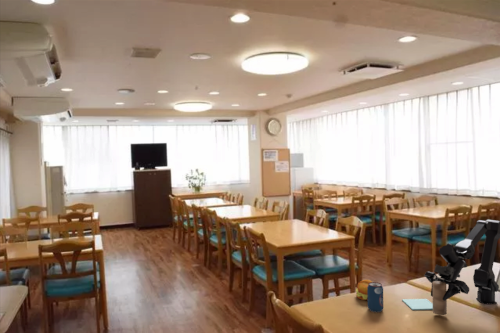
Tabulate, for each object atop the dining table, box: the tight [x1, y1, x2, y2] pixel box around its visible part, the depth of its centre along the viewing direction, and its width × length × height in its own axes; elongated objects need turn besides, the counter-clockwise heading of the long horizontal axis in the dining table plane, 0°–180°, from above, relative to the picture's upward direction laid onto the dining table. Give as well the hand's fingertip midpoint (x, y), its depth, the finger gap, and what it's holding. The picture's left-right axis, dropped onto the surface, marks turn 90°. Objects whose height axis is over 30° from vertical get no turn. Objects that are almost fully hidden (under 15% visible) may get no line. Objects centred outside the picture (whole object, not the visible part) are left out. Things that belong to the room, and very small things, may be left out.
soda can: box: [367, 281, 384, 313], centre depth 181 cm, size 7×7×12 cm
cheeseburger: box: [355, 279, 373, 301], centre depth 196 cm, size 10×11×10 cm
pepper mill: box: [431, 281, 448, 316], centre depth 172 cm, size 6×6×13 cm
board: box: [401, 298, 433, 311], centre depth 186 cm, size 12×12×1 cm
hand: (437, 298), depth 172 cm, fingers closed on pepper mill, 5 cm apart
